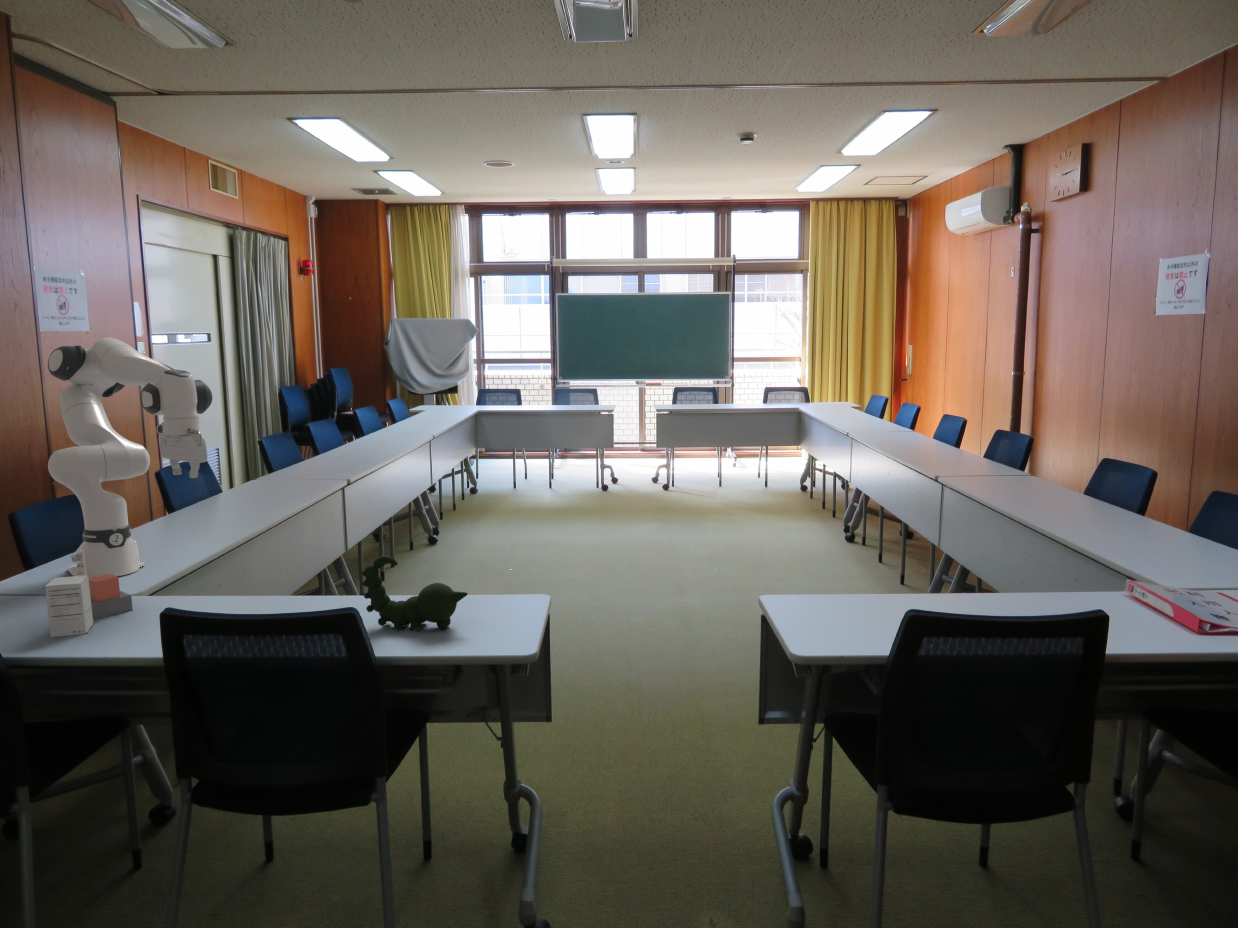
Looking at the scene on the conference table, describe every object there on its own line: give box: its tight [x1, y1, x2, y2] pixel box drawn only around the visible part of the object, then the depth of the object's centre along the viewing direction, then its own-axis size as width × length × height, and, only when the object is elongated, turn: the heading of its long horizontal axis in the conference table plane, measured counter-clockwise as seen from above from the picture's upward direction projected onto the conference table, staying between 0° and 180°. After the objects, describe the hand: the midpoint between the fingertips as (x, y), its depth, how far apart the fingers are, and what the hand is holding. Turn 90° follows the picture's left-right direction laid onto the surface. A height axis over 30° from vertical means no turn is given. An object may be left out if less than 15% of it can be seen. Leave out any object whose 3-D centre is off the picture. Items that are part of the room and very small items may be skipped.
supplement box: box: [44, 575, 94, 638], centre depth 190 cm, size 7×7×13 cm
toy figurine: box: [361, 555, 468, 632], centre depth 192 cm, size 9×19×25 cm
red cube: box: [89, 574, 121, 602], centre depth 204 cm, size 5×5×5 cm
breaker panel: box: [91, 590, 134, 621], centre depth 206 cm, size 13×10×4 cm
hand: (185, 476), depth 227 cm, fingers open, 8 cm apart
